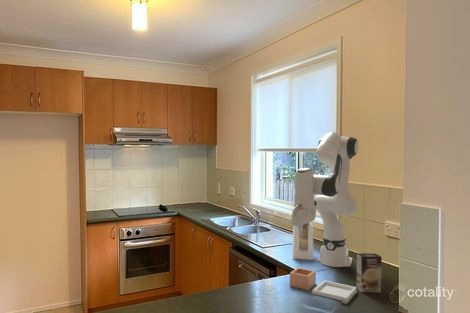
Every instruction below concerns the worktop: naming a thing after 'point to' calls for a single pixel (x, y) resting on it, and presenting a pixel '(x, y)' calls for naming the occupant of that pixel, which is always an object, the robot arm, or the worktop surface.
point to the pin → (304, 239)
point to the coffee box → (368, 272)
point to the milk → (295, 244)
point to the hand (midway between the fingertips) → (303, 233)
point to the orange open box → (303, 278)
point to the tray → (335, 291)
